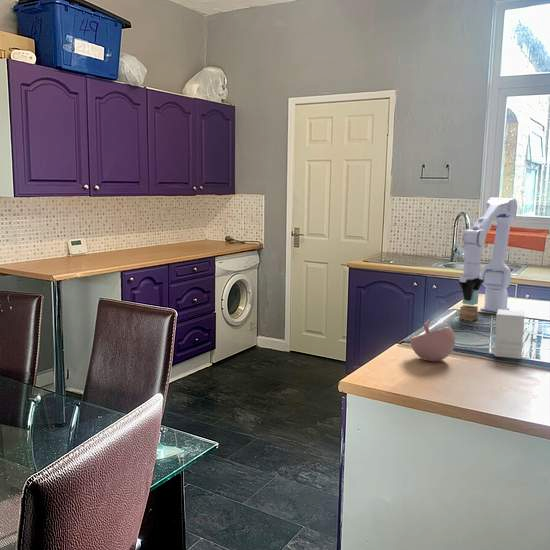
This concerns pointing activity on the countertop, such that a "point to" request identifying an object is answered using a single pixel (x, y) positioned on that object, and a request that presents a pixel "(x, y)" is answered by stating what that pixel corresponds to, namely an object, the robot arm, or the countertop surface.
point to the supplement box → (509, 333)
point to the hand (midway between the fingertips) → (470, 299)
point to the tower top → (468, 309)
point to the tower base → (469, 316)
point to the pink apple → (433, 343)
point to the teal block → (472, 298)
